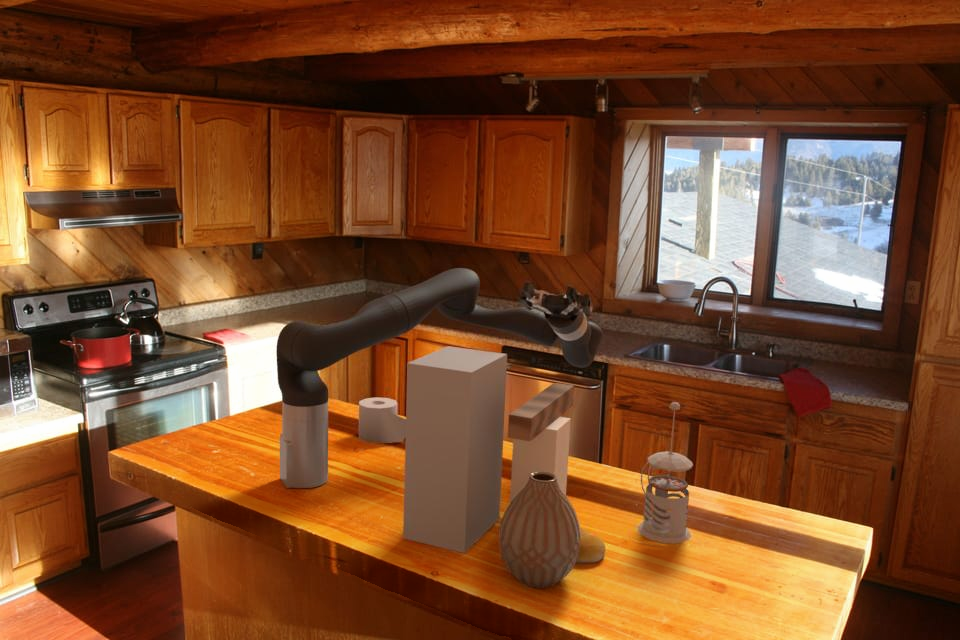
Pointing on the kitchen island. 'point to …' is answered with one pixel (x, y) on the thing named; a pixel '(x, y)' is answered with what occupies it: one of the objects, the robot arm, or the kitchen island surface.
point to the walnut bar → (540, 411)
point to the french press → (666, 497)
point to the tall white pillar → (453, 446)
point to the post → (542, 456)
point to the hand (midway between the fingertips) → (547, 287)
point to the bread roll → (590, 548)
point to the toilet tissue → (380, 421)
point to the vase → (540, 533)
